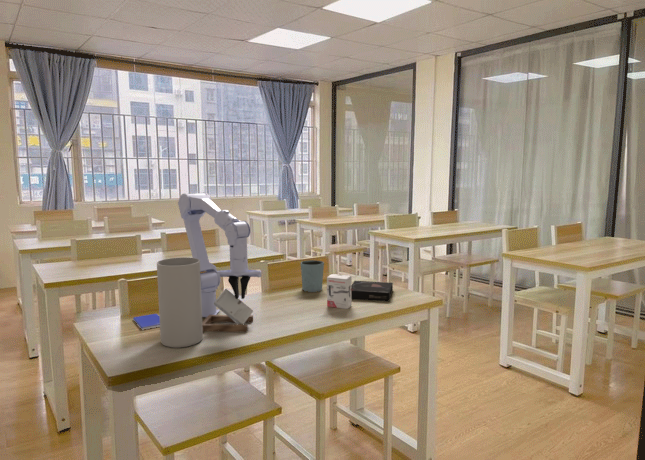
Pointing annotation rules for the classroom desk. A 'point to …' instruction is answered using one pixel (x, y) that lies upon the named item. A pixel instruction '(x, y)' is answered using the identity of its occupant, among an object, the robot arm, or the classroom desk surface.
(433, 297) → the classroom desk surface
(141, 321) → the hard drive
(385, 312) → the classroom desk surface
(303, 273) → the teal cup
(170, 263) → the cylinder vase
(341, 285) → the ink box
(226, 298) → the skincare box
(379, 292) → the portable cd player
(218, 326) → the u rest
